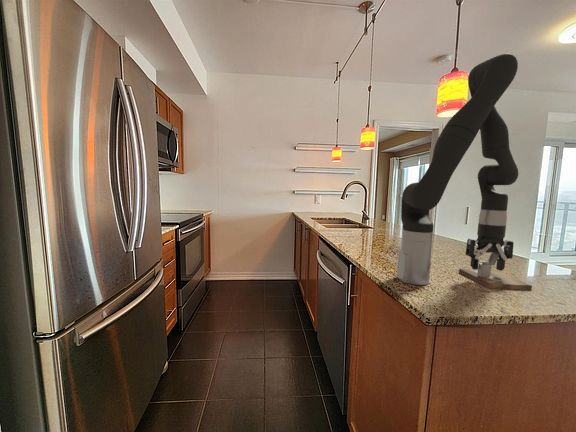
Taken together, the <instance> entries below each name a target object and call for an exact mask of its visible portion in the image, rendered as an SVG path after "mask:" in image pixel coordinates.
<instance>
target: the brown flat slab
mask: <svg viewBox="0 0 576 432" xmlns="http://www.w3.org/2000/svg"><path fill="white" fill-rule="evenodd" d="M458 273H460V274H461V275H464V276H465V277H467V278H469V279H471V280H473V281H474V282H477V283H479V284H481V285H482V286H485V287H486V288H488V289H504V290H505V289H506V290H525V291H532V289H533V285H532V284H530V283H527V282H524V281H522V280H519V279H517V278H514V277H513V276H510V275H508V274H505V273H503V272H501V271H499V270H497V269H491V274H490V276H489V277H480V276H477V274H478V269H477V270H476V269H473V268H459V269H458Z"/></svg>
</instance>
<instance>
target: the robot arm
mask: <svg viewBox="0 0 576 432" xmlns="http://www.w3.org/2000/svg"><path fill="white" fill-rule="evenodd" d="M518 64H519V63H518V60H517V57H516V56H515V55H513V54H512V53H503V54H498V55H495V56H494V57H492V58H490V59H488V60H485V61H483V62H480V63H478V64H477V65H475V66H473V68H472V69H471V70H470V71H469V75H468V76H467V77H468V78H467V85H468V89H469V93H470V97H471V98H470V99H469V100H468V101H467V102H466V103H465V104H464V105H463V106H462V107H461V108H459V110H458V111H457V112H455V114H453V115H452V116H451V118H450V119H449V120H448V121H447V122H446V124H445V126H444V127H443V129H442V130H441V132H440V133H439V136H438V137H437V140H436V142H435V143H434V144H435V145H434V148H433V153H432V159H431V161H430V164H429V165H428V168H427V170H426V171H425V173H424V174H423V176H422V177H421V179H420V180H419V181H418V182H413V183H409V184H408V185H407V186H406V187H405V188H404V189H403V191H402V195H401V208H400V213H401V214H400V219H401V224H402V231H401V232H402V233H401V244H400V250H398V252H397V253H398V254H397V265H396V266H397V267H396V268H397V269H396V278H398V280H399V281H400V282H402V283H405V284H410V285H415V286H425V285H429V283H430V274H431V273H430V272H431V264H432V263H431V261H432V249H433V238H434V237H433V235H434V227H435V226H434V223H433V221H432V220H431V217H430V210H431V211H432V210H433V209H434V208H435V207H436V206H438V204H439V203H440V201H441V199H442V197H443V195H444V193H445V190H446V188H447V186H448V184H449V182H450V180H451V179H452V175H453V174H454V172H455V170H456V169H457V167H458V166H459V165H460V163H461V161H462V159H463V158H464V156H465V155H466V153H467V151H468V150H469V148H470V147H471V145H472V143H473V142H474V140H475V139H476V136H477V135H478V133H479V132H480V142H481V153H482V156H483V157H484V158H485V159H489V160H494V161H495V162H497V164H486V165H483V166H482V167H481V168H480V169H479V171H478V173H477V181H478V185H479V191H480V196H481V201H480V202H481V203H480V210H479V211H480V212H479V215H478V223H477V233H476V234H477V238H476V239H472V238H467V241H466V248H465V256H467V257H470V267H471V269H476V270H477V269H478V266H479V261H480V260H479V258H480V257H481V256H483V255H484V254H485V253H486V254H491V253H496V254H498V255H499V257H498V259H497V261H496V267H495V268H496V269H495V270H496V271H499V272H501V271H504V269H505V268H506V266H505V265H506V261H507V260H508V259H513V257H514V255H513V254H514V241H512V240H508V239H507V240H504V239H505V237H506V230H507V221H508V212H507V211H508V204H509V196H508V194H507V193H505V192H500V191H496V189H495V187H494V186H511V185H513V184H515V182H517V180H518V178H519V168H518V166H517V164H516V161H515V160H514V157H513V154H512V152H511V150H510V149H511V148H510V138H509V136H510V135H509V128H508V125H507V124H506V122H505V120H504V118H503V117H502V116H501V114H500V113H499V111H498V110H497V108H496V104H497V102H498V101H499V100H500V99H501V97H502V96H503V94H504V93H505V92H506V90H507V89H508V88H509V87H510V85H511V84H512V83H513V81H514V79H515V77H516V75H517V72H518V68H519V67H518V66H519V65H518ZM475 246H476V247H475ZM502 247H503V248H502Z"/></svg>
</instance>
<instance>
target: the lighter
mask: <svg viewBox="0 0 576 432" xmlns="http://www.w3.org/2000/svg"><path fill="white" fill-rule="evenodd" d="M498 257H499V255H498V254H496V253H492V252H490V256H489V258H488V260H482V262H481V263H478V274H477V276H480V277H489V276H490V274H491V270H492V266H495V265H496V264H497V259H499V258H498Z"/></svg>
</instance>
